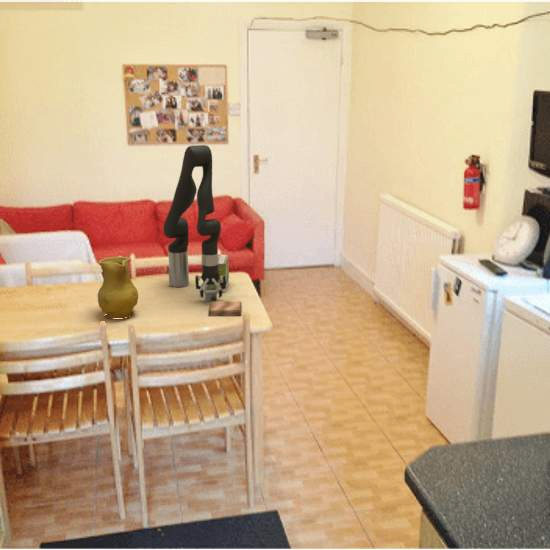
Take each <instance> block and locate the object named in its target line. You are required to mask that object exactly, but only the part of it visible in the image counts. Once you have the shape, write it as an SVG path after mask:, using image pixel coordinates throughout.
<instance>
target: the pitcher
mask: <svg viewBox="0 0 550 550" xmlns="http://www.w3.org/2000/svg"><path fill="white" fill-rule="evenodd" d="M130 261H131V258H130V257H128V256H110V257H104V258H103V259H100V260H99V261H98V264H99V266H100V267H101V271H102V272H101V274H102V278H103V281H102V284H101V287H100V288H99V289H98V293H97V304H98V307H99V308H100V309H101V311H102V312H103V313H104V315H105V314H107V315H105V316H104V318H106V317H107V318H125V317H129V316H131V317H132V316H133V315H134V311H133V309H134V308H135V307H136V306H137V305H138V303H139V302H138V300H139V291H138V289H137V287H136V286H135V285H134V283H133V281H132V279H131V276H130V275H131V274H130V267H129V266H130V263H131V262H130ZM132 314H133V315H132ZM107 318H106V319H107Z"/></svg>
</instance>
